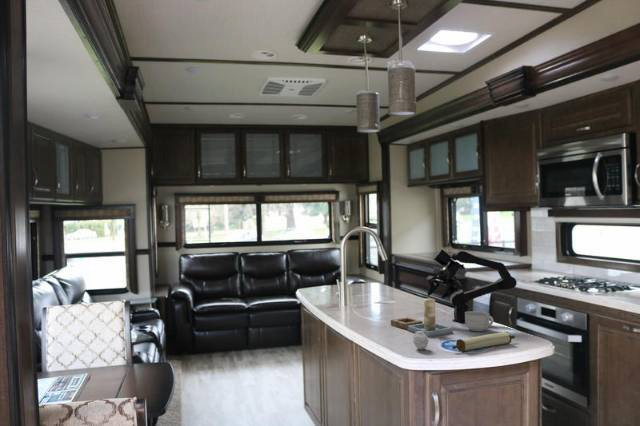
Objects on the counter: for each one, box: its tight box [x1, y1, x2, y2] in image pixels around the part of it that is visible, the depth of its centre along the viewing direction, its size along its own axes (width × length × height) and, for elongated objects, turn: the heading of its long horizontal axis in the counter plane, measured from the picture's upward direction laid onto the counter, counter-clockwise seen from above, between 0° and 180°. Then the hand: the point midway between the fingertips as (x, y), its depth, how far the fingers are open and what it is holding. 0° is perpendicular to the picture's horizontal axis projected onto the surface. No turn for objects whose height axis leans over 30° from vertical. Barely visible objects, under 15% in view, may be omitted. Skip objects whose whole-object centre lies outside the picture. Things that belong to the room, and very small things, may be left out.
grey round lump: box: [412, 331, 429, 351], centre depth 195 cm, size 6×7×7 cm
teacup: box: [464, 310, 494, 332], centre depth 222 cm, size 14×11×8 cm
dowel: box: [423, 298, 436, 331], centre depth 222 cm, size 5×5×14 cm
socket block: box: [390, 316, 424, 330], centre depth 235 cm, size 11×11×2 cm
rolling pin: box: [451, 331, 516, 353], centre depth 196 cm, size 32×6×5 cm, turn 115°
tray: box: [407, 322, 453, 338], centre depth 222 cm, size 14×14×2 cm
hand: (434, 296), depth 235 cm, fingers open, 9 cm apart
